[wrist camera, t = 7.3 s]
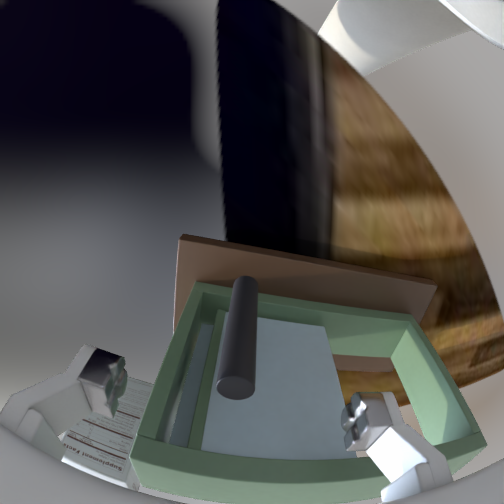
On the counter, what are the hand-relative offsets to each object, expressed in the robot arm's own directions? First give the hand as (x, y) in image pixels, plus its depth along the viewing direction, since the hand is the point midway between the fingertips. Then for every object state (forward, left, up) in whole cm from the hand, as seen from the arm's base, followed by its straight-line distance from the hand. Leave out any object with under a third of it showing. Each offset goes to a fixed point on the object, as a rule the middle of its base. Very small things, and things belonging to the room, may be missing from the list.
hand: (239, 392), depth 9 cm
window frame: (+5, +5, -13) cm, 15 cm away
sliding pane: (+2, +2, -10) cm, 11 cm away
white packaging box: (+21, -11, -13) cm, 27 cm away
